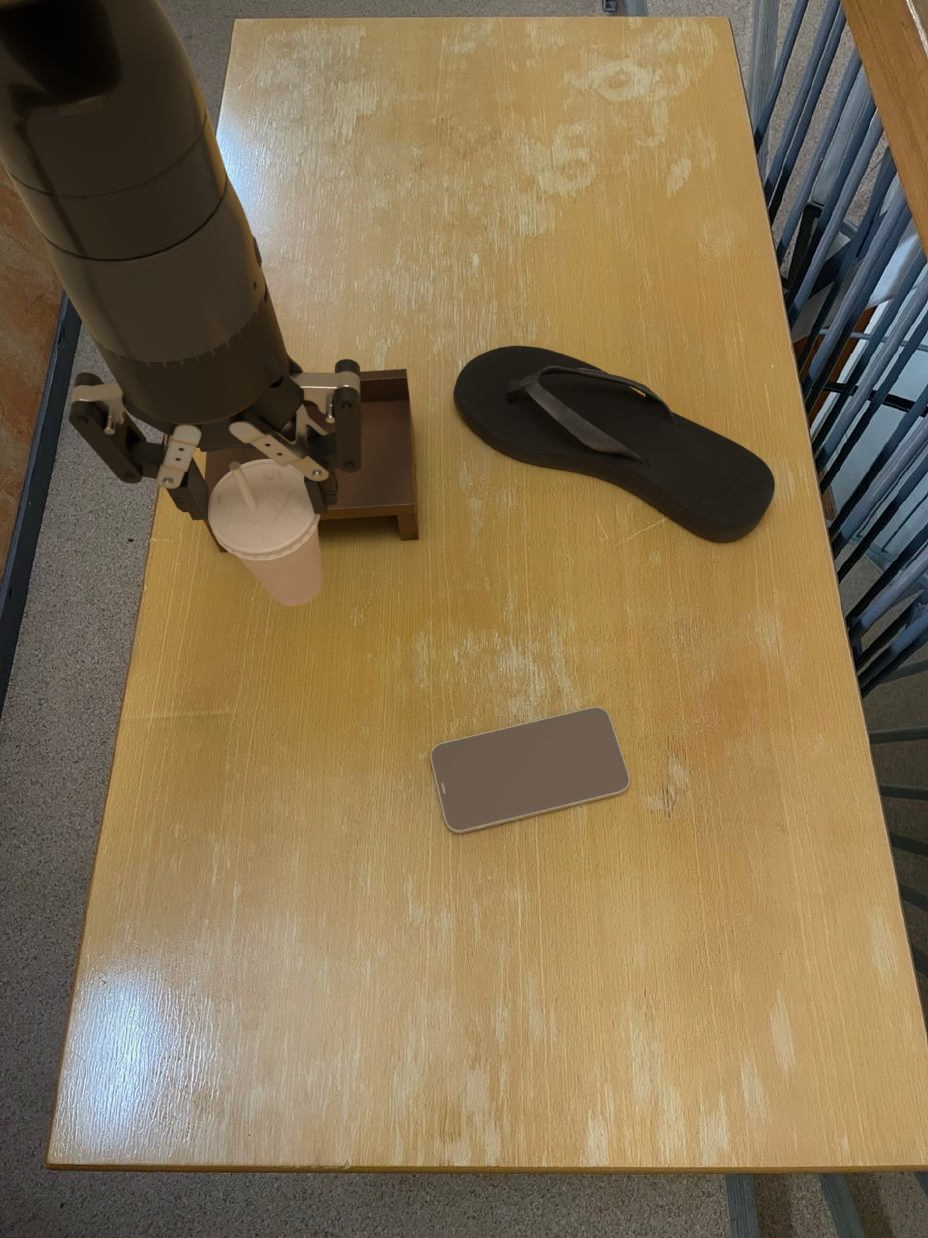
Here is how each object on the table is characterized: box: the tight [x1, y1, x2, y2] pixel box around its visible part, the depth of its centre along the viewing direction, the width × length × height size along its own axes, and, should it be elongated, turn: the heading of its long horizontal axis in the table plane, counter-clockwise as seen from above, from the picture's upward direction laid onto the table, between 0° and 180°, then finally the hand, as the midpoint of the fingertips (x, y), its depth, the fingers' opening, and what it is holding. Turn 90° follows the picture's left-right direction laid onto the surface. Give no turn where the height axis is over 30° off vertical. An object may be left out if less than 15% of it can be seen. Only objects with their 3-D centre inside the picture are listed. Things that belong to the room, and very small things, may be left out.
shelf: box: [202, 368, 420, 553], centre depth 81 cm, size 18×12×9 cm, turn 93°
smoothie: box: [208, 459, 323, 607], centre depth 55 cm, size 6×6×14 cm
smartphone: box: [429, 706, 631, 835], centre depth 73 cm, size 7×1×15 cm
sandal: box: [452, 345, 776, 543], centre depth 84 cm, size 13×31×7 cm, turn 65°
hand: (262, 503), depth 52 cm, fingers closed on smoothie, 6 cm apart
